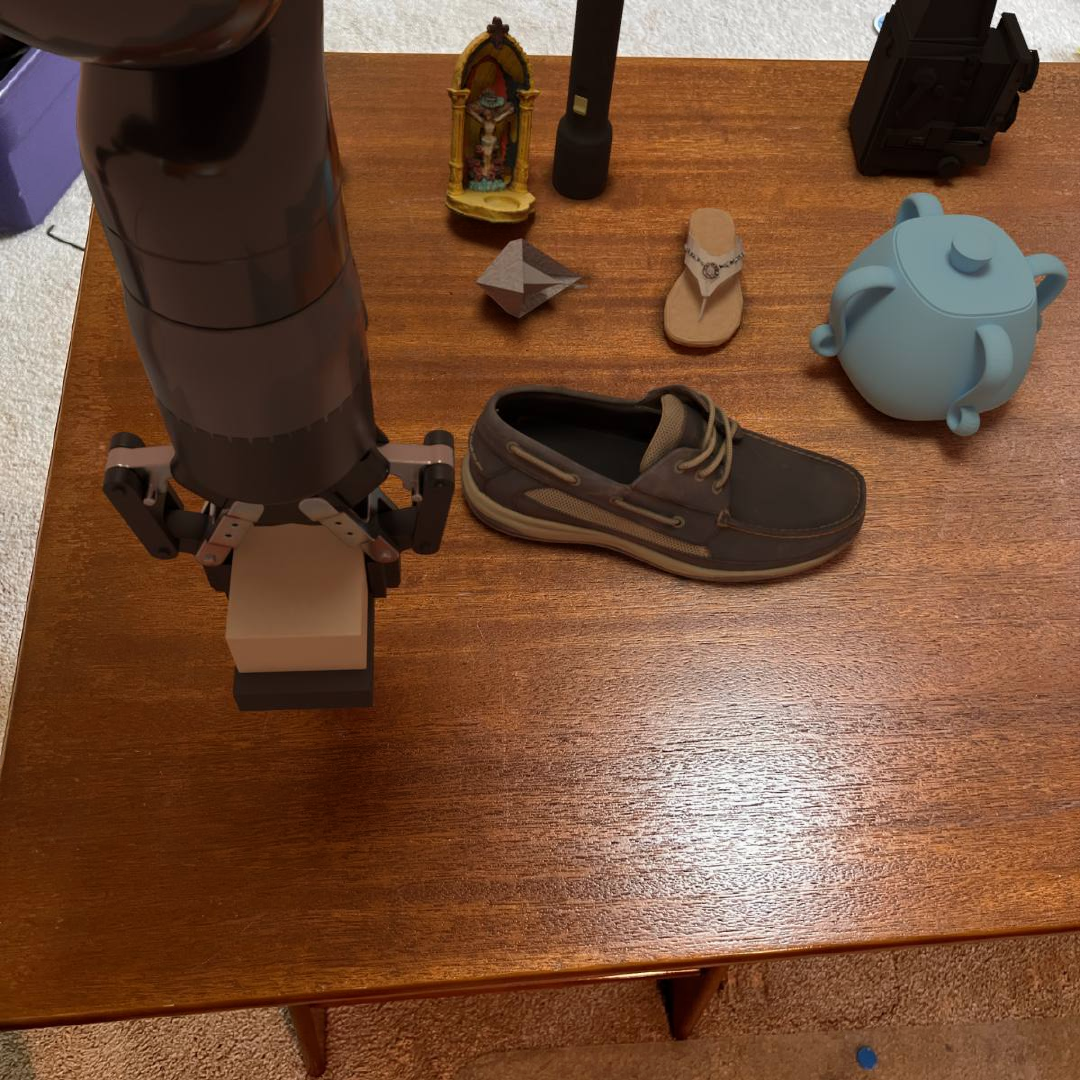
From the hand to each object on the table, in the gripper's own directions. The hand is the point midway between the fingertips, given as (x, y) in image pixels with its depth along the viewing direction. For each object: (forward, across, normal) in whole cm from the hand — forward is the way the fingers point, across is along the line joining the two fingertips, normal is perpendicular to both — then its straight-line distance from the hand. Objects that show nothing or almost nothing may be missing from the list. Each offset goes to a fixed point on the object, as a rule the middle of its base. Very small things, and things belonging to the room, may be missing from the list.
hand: (310, 582), depth 51 cm
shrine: (+21, +11, +50) cm, 55 cm away
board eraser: (+1, 0, +1) cm, 2 cm away
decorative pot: (+21, +45, +31) cm, 59 cm away
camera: (+21, +53, +58) cm, 81 cm away
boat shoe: (+21, +22, +17) cm, 35 cm away
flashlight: (+21, +20, +53) cm, 61 cm away
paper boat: (+21, +14, +38) cm, 45 cm away
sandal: (+21, +29, +40) cm, 54 cm away
